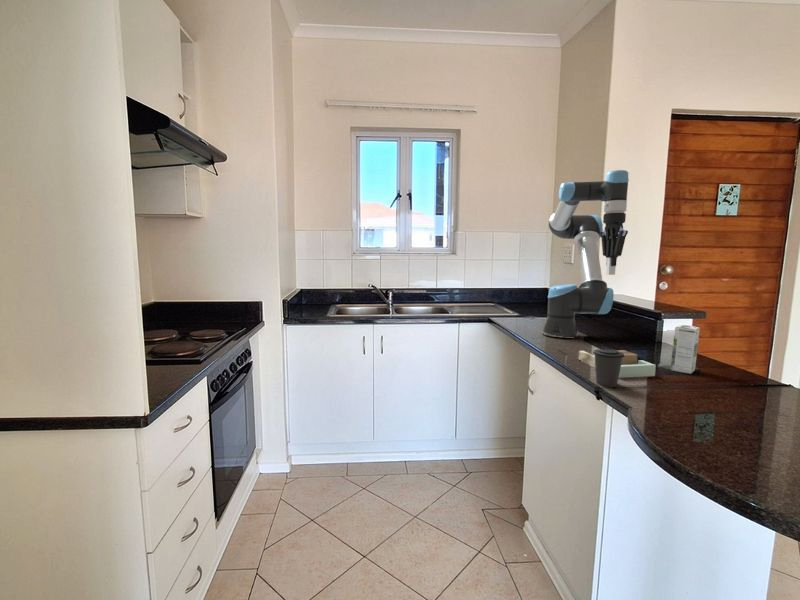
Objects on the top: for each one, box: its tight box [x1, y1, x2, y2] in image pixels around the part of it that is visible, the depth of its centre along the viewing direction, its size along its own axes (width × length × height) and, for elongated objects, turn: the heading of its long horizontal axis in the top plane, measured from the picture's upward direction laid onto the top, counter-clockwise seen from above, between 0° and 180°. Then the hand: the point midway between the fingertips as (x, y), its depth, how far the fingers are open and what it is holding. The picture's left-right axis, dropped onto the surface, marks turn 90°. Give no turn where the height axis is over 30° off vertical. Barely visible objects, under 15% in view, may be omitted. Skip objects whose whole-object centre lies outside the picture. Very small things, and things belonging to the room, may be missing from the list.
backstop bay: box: [618, 359, 657, 379], centre depth 124 cm, size 6×13×4 cm, turn 99°
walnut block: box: [615, 349, 638, 365], centre depth 128 cm, size 6×6×6 cm
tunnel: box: [578, 349, 614, 369], centre depth 136 cm, size 10×13×4 cm
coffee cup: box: [592, 348, 624, 388], centre depth 115 cm, size 8×8×10 cm
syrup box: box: [670, 324, 701, 375], centre depth 127 cm, size 6×6×14 cm
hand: (610, 274), depth 154 cm, fingers closed
